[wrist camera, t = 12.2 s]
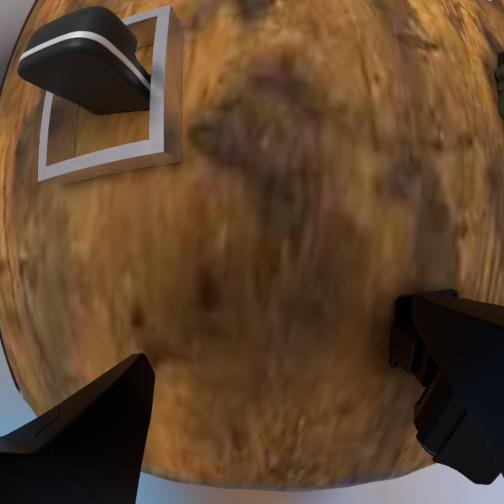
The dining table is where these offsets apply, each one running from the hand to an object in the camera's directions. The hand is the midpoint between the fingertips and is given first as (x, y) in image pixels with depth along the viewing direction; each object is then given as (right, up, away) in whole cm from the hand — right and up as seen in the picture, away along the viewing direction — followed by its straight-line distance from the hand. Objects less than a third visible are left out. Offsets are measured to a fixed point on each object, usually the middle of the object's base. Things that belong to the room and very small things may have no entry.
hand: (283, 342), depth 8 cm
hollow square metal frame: (-12, +16, +11) cm, 23 cm away
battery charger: (-11, +16, +11) cm, 23 cm away
